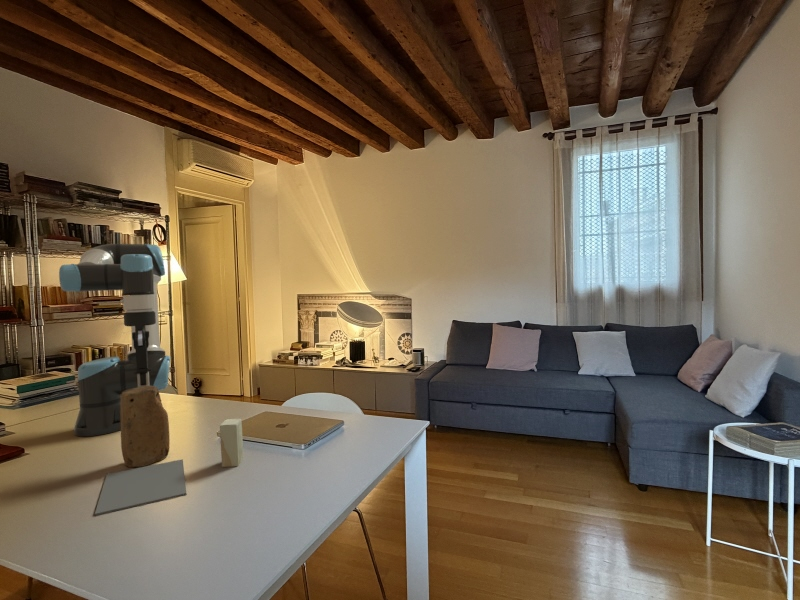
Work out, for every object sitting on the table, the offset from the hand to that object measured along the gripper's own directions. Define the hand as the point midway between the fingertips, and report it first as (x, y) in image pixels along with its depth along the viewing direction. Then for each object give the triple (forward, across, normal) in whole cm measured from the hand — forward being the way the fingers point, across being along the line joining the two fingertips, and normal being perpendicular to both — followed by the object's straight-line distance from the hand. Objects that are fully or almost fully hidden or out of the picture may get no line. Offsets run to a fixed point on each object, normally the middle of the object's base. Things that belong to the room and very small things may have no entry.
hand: (144, 396), depth 121 cm
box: (+17, +18, +20) cm, 32 cm away
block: (+17, +4, 0) cm, 17 cm away
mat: (+17, +20, 0) cm, 26 cm away
